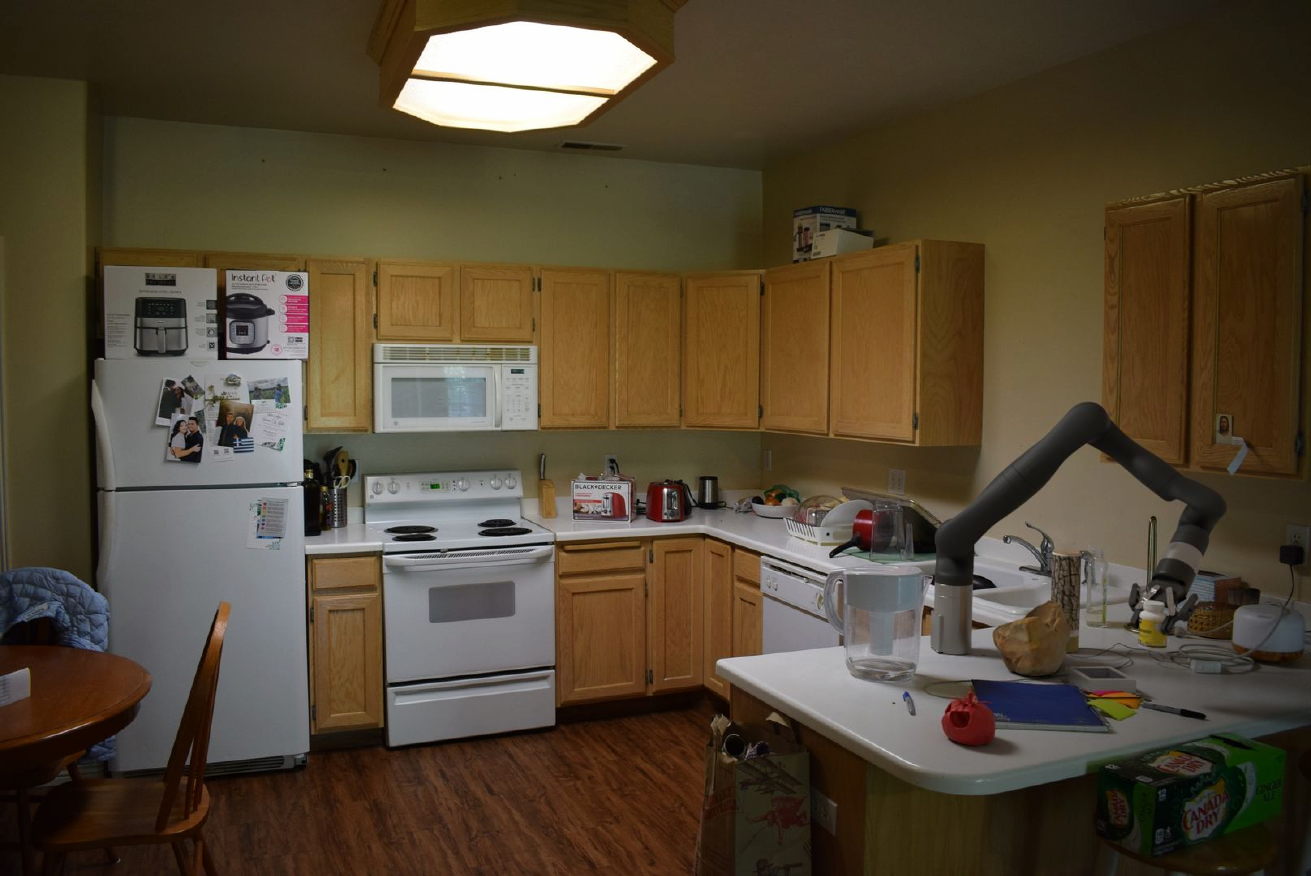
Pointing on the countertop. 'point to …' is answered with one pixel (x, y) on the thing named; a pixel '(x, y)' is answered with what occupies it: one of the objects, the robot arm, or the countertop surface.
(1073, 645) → the brown bark log
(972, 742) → the pomegranate
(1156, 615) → the supplement bottle
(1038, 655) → the rough brown rock
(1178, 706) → the countertop surface
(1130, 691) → the shallow grey tray
